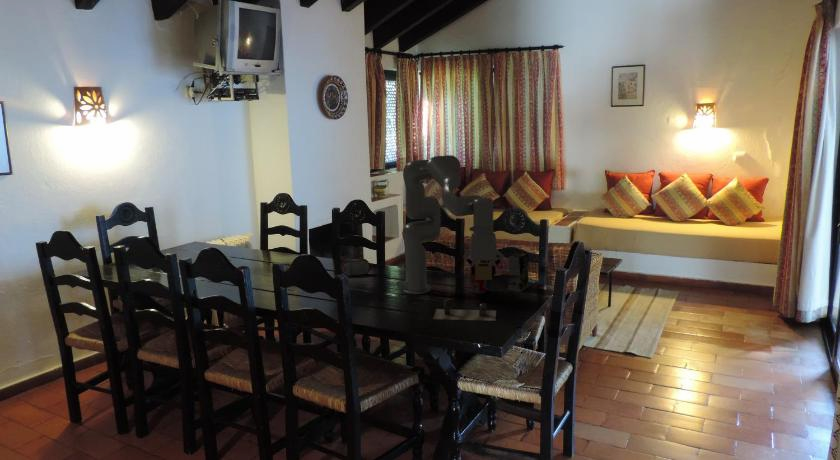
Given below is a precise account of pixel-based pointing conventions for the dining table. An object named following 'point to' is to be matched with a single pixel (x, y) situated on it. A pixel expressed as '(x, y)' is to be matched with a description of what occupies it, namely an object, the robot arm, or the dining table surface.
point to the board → (462, 314)
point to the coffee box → (518, 272)
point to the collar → (483, 271)
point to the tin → (355, 267)
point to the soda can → (477, 283)
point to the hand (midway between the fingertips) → (483, 275)
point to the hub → (482, 310)
